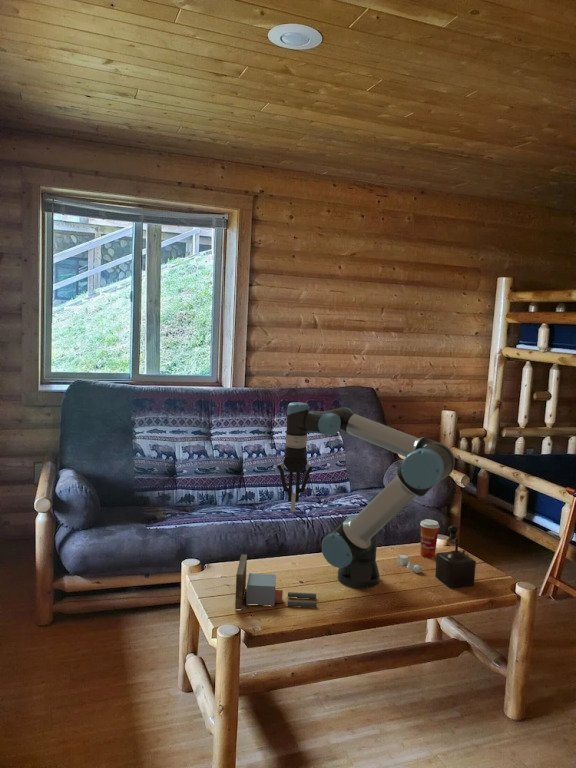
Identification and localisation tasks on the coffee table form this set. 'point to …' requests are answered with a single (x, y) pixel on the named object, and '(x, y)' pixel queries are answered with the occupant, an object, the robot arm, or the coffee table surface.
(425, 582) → the coffee table surface
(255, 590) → the block
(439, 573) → the black joystick
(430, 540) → the paper cup
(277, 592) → the dowel
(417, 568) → the game pieces
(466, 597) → the coffee table surface
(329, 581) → the coffee table surface
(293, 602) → the rails
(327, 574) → the coffee table surface
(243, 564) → the wall
